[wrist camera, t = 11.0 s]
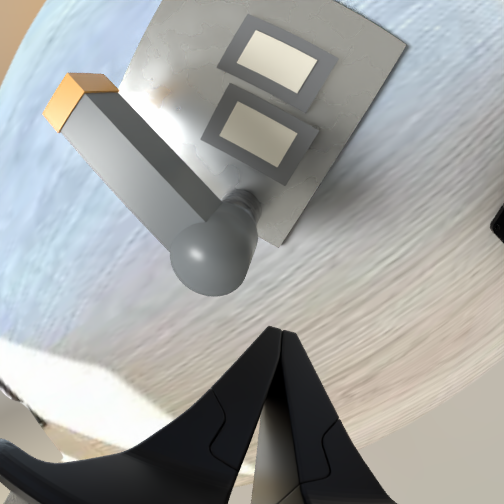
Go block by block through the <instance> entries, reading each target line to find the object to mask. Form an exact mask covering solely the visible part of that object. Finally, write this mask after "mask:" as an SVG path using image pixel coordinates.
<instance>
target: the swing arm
mask: <svg viewBox="0 0 504 504" xmlns="http://www.w3.org/2000/svg"><path fill="white" fill-rule="evenodd" d="M119 91H120V90H119V89H118V88H117V87H116V86H115V85H114V84H113V83H112V82H111V81H110V80H109V79H108V78H107V77H106V76H105V75H104V74H93V73H67V74H66V75H65V77H64V78H63V80H62V82H61V83H60V85H59V86H58V88H57V90H56V91H55V93H54V94H53V96H52V98H51V99H50V101H49V103H48V105H47V106H46V108H45V110H44V112H43V113H42V114H43V115H44V117H45V118H46V119H47V120H48V122H49V123H50V124H51V125H52V127H53V128H54V129H55V130H56V131H57V133H60V132H61V133H62V134H63V135H64V136H65V138H66V139H67V140H68V141H69V142H70V144H71V145H72V146H73V147H74V148H75V149H76V151H77V152H78V153H79V154H80V155H81V156H82V158H83V159H84V160H85V161H86V162H87V163H88V164H89V166H90V167H91V168H92V169H93V170H94V171H95V172H96V173H97V175H98V176H99V177H100V178H101V179H102V180H103V181H104V182H105V184H106V185H107V186H108V187H109V188H110V189H111V190H112V191H113V192H114V193H115V195H116V196H117V197H118V198H119V199H120V200H121V201H122V202H123V203H124V204H125V205H126V207H127V208H128V209H129V210H130V211H131V212H132V213H133V214H134V215H135V216H136V217H137V218H138V219H139V221H140V222H141V223H142V224H143V225H144V226H145V227H146V228H147V229H148V230H149V231H150V232H151V233H152V234H153V235H154V236H155V237H156V238H157V239H158V240H159V241H160V243H161V244H162V245H163V246H164V247H165V248H166V249H167V250H168V251H169V252H170V260H171V265H172V268H173V270H174V272H175V274H176V276H177V277H178V278H179V280H180V281H181V282H182V283H183V284H184V285H185V286H186V287H188V288H189V289H191V290H192V291H194V292H196V293H199V294H202V295H206V296H223V295H226V294H229V293H231V292H233V291H234V290H236V289H237V288H238V287H239V286H240V285H241V284H242V282H243V281H244V279H245V276H246V274H247V271H248V268H249V265H250V263H251V260H252V257H253V254H254V252H255V249H256V246H257V242H258V232H257V228H256V225H255V223H254V221H253V219H252V218H251V216H250V215H249V214H248V213H247V212H246V211H245V210H243V209H242V208H240V207H238V206H236V205H234V204H230V203H224V202H222V201H221V200H220V199H219V198H218V197H217V196H216V195H215V194H214V193H213V192H212V190H211V189H210V188H209V187H208V186H207V185H206V184H205V183H204V182H203V181H202V180H201V179H200V178H199V177H198V176H197V175H196V174H195V172H194V171H193V170H192V169H191V168H190V167H189V166H188V165H187V164H186V163H185V162H184V161H183V160H182V159H181V158H180V157H179V156H178V155H177V153H176V152H175V151H174V150H173V149H172V148H171V147H170V146H169V145H168V144H167V143H166V142H165V141H164V140H163V139H162V138H161V137H160V136H159V135H158V134H157V132H156V131H155V130H154V129H153V128H152V127H151V126H150V125H149V124H148V123H147V122H146V121H145V120H144V119H143V118H142V117H141V116H140V115H139V114H138V113H137V112H136V111H135V110H134V109H133V107H132V106H131V105H130V104H129V103H128V102H127V101H126V100H125V99H124V98H123V97H122V96H121V95H120V94H119V93H118V92H119Z"/></svg>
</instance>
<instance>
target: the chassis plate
mask: <svg viewBox="0 0 504 504" xmlns="http://www.w3.org/2000/svg"><path fill="white" fill-rule="evenodd" d="M247 14H250V15H252V16H255V17H257V18H259V19H262V20H264V21H266V22H268V23H271V24H273V25H275V26H277V27H279V28H282V29H284V30H286V31H288V32H290V33H292V34H294V35H296V36H298V37H300V38H302V39H304V40H306V41H308V42H310V43H312V44H314V45H316V46H317V47H319V48H321V49H323V50H325V51H327V52H328V53H330V54H332V55H334V56H335V57H337V58H339V59H338V61H337V63H336V64H335V66H334V67H333V69H332V71H331V72H330V74H329V76H328V77H327V79H326V81H325V82H324V84H323V85H322V87H321V89H320V90H319V92H318V94H317V95H316V97H315V99H314V100H313V102H312V104H311V105H310V107H309V109H308V110H307V112H306V113H304V112H302V111H300V110H299V109H297V108H295V107H293V106H292V105H290V104H288V103H286V102H284V101H282V100H281V99H279V98H277V97H275V96H273V95H271V94H269V93H267V92H266V91H264V90H262V89H260V88H258V87H256V86H254V85H252V84H250V83H248V82H246V81H244V80H242V79H239V78H237V77H235V76H233V75H231V74H229V73H227V72H224V71H222V70H220V69H218V68H216V67H217V65H218V63H219V62H220V60H221V58H222V56H223V54H224V53H225V51H226V49H227V47H228V46H229V44H230V42H231V41H232V39H233V37H234V35H235V34H236V32H237V30H238V29H239V27H240V25H241V24H242V22H243V21H244V19H245V17H246V16H247ZM405 47H406V44H405V43H403V42H402V41H400V40H399V39H397V38H396V37H394V36H393V35H391V34H390V33H388V32H387V31H385V30H384V29H382V28H381V27H379V26H377V25H376V24H374V23H373V22H371V21H369V20H368V19H366V18H364V17H362V16H361V15H359V14H357V13H356V12H354V11H352V10H350V9H348V8H347V7H345V6H343V5H341V4H339V3H337V2H335V1H333V0H162V2H161V4H160V5H159V7H158V9H157V11H156V12H155V14H154V16H153V18H152V20H151V22H150V23H149V25H148V27H147V29H146V31H145V33H144V35H143V37H142V39H141V41H140V43H139V45H138V47H137V49H136V51H135V53H134V55H133V57H132V60H131V62H130V64H129V66H128V68H127V70H126V73H125V75H124V77H123V80H122V82H121V84H120V87H119V90H120V91H119V92H118V93H119V94H120V95H121V96H122V97H123V98H124V99H125V100H126V101H127V102H128V103H129V104H130V105H131V106H132V107H133V109H134V110H135V111H136V112H137V113H138V114H139V115H140V116H141V117H142V118H143V119H144V120H145V121H146V122H147V123H148V124H149V125H150V126H151V127H152V128H153V129H154V130H155V131H156V132H157V134H158V135H159V136H160V137H161V138H162V139H163V140H164V141H165V142H166V143H167V144H168V145H169V146H170V147H171V148H172V149H173V150H174V151H175V152H176V153H177V155H178V156H179V157H180V158H181V159H182V160H183V161H184V162H185V163H186V164H187V165H188V166H189V167H190V168H191V169H192V170H193V171H194V172H195V174H196V175H197V176H198V177H199V178H200V179H201V180H202V181H203V182H204V183H205V184H206V185H207V186H208V187H209V188H210V189H211V190H212V192H213V193H214V194H215V195H216V196H217V197H218V198H219V199H220V200H221V201H222V202H224V203H230V204H234V205H236V206H238V207H240V208H242V209H243V210H245V211H246V212H247V213H248V214H249V215H250V216H251V218H252V219H253V221H254V223H255V225H256V228H257V232H258V237H260V238H262V239H264V240H265V241H267V242H269V243H271V244H272V245H274V246H276V247H278V248H279V247H280V245H281V244H282V242H283V241H284V239H285V238H286V236H287V235H288V233H289V232H290V230H291V229H292V227H293V225H294V224H295V222H296V221H297V219H298V218H299V216H300V215H301V213H302V212H303V210H304V208H305V207H306V205H307V204H308V202H309V201H310V199H311V198H312V196H313V195H314V193H315V191H316V190H317V188H318V187H319V185H320V184H321V182H322V180H323V179H324V177H325V176H326V174H327V173H328V171H329V169H330V168H331V166H332V165H333V163H334V162H335V160H336V158H337V157H338V155H339V154H340V152H341V151H342V149H343V147H344V146H345V144H346V143H347V141H348V139H349V138H350V136H351V135H352V133H353V131H354V130H355V128H356V127H357V125H358V123H359V122H360V120H361V119H362V117H363V115H364V114H365V112H366V111H367V109H368V107H369V106H370V104H371V102H372V101H373V99H374V98H375V96H376V94H377V93H378V91H379V89H380V88H381V86H382V85H383V83H384V81H385V80H386V78H387V76H388V75H389V73H390V71H391V70H392V68H393V67H394V65H395V63H396V62H397V60H398V58H399V57H400V55H401V53H402V52H403V50H404V48H405ZM229 83H232V84H234V85H236V86H238V87H240V88H242V89H244V90H246V91H248V92H250V93H252V94H254V95H256V96H258V97H260V98H262V99H264V100H266V101H268V102H269V103H271V104H273V105H275V106H277V107H279V108H281V109H282V110H284V111H286V112H288V113H290V114H291V115H293V116H295V117H297V118H298V119H300V120H302V121H304V122H305V123H307V124H309V125H310V126H312V127H314V128H316V129H317V130H319V132H318V134H317V135H316V137H315V139H314V140H313V142H312V144H311V145H310V147H309V148H308V150H307V152H306V153H305V155H304V157H303V158H302V160H301V162H300V163H299V165H298V166H297V168H296V170H295V171H294V173H293V175H292V176H291V178H290V180H289V181H288V183H287V185H286V186H284V185H282V184H280V183H278V182H277V181H275V180H273V179H271V178H270V177H268V176H266V175H264V174H263V173H261V172H259V171H257V170H256V169H254V168H252V167H250V166H248V165H247V164H245V163H243V162H241V161H239V160H237V159H236V158H234V157H232V156H230V155H228V154H226V153H225V152H223V151H221V150H219V149H217V148H215V147H213V146H211V145H209V144H208V143H206V142H204V141H202V140H200V139H201V137H202V135H203V133H204V131H205V129H206V127H207V125H208V123H209V121H210V119H211V117H212V115H213V113H214V111H215V109H216V107H217V105H218V103H219V102H220V100H221V98H222V96H223V94H224V92H225V90H226V88H227V87H228V85H229Z"/></svg>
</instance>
